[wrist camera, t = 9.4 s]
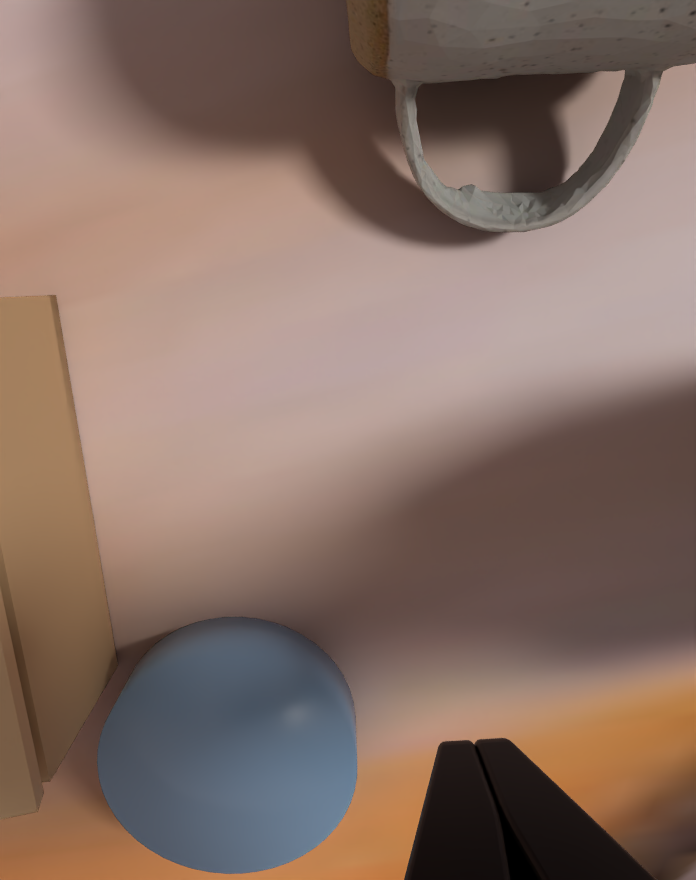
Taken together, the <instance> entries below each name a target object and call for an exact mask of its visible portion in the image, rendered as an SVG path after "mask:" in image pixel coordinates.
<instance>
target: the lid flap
mask: <svg viewBox="0 0 696 880" xmlns="http://www.w3.org/2000/svg"><path fill="white" fill-rule="evenodd" d="M43 794H44V791H43V786H42V782H41V777H40V772H39V768H38V763H37V758H36V753H35V749H34V744H33V739H32V735H31V730H30V725H29V720H28V716H27V711H26V706H25V701H24V697H23V692H22V687H21V683H20V678H19V673H18V668H17V664H16V659H15V654H14V650H13V645H12V640H11V635H10V631H9V626H8V621H7V617H6V612H5V607H4V602H3V598H2V593H1V588H0V820H1V819H5V818H10V817H15V816H20V815H24V814H29V813H34V812H38V809H39V806H40V803H41V800H42V797H43Z"/></svg>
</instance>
